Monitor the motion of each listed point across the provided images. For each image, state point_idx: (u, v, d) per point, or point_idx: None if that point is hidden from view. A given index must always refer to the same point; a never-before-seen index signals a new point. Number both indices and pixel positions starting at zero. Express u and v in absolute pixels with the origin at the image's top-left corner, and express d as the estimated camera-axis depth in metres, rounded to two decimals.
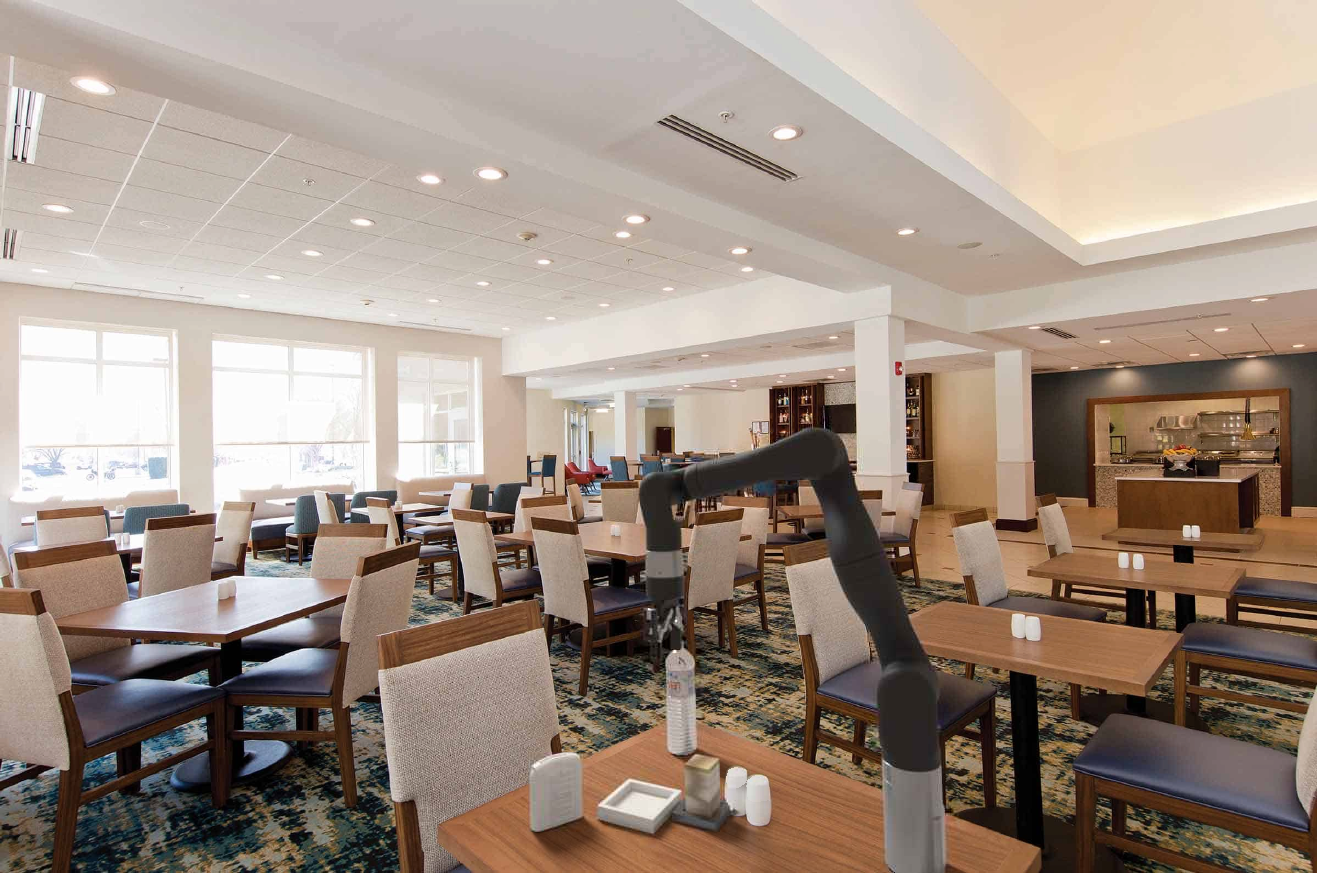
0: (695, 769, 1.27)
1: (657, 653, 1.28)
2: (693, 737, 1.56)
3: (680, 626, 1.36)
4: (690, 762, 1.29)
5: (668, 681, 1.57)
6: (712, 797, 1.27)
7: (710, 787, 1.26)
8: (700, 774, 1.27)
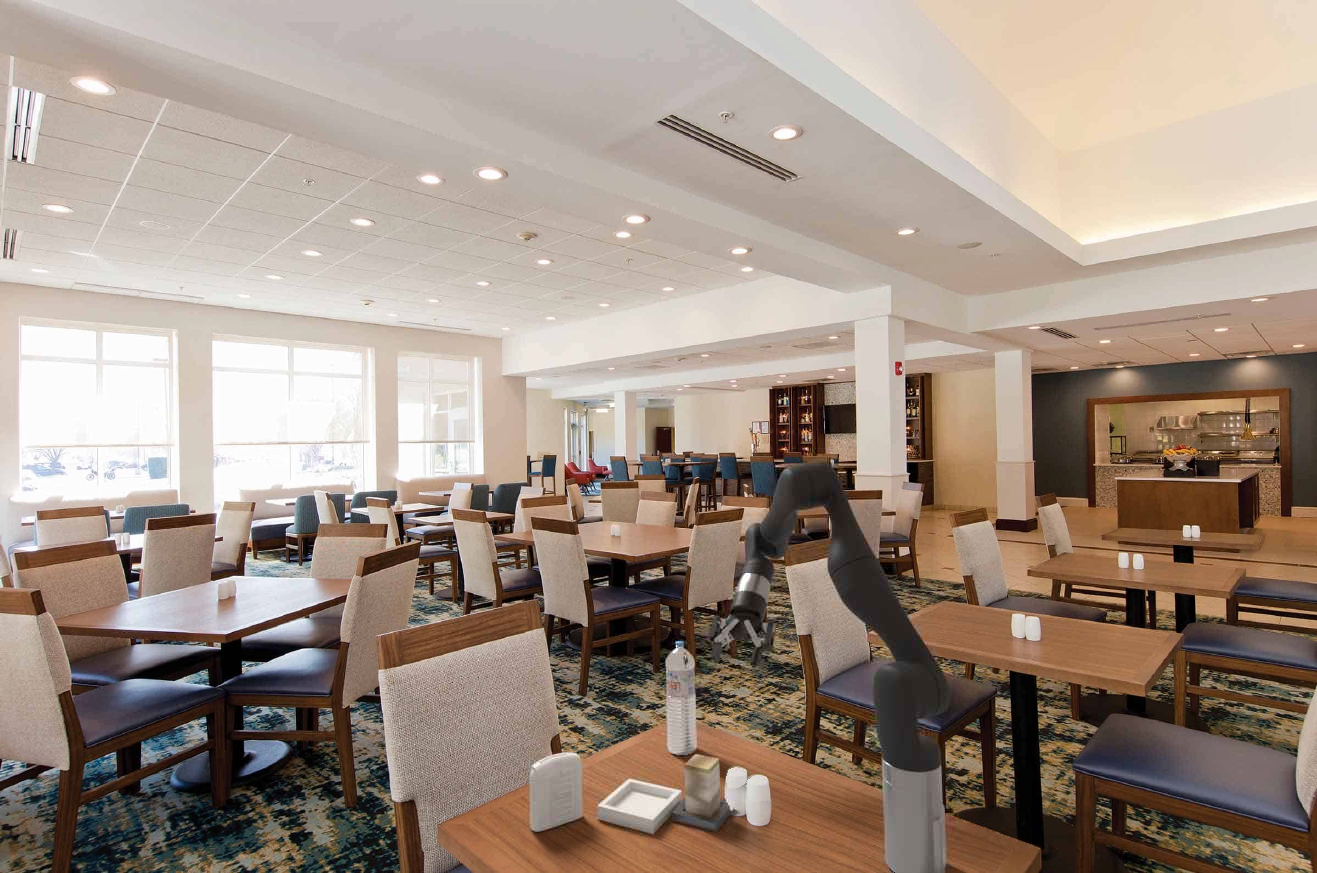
0: (695, 769, 1.27)
1: (713, 651, 1.46)
2: (693, 737, 1.56)
3: (755, 642, 1.44)
4: (690, 762, 1.29)
5: (668, 681, 1.57)
6: (712, 797, 1.27)
7: (710, 787, 1.26)
8: (700, 774, 1.27)
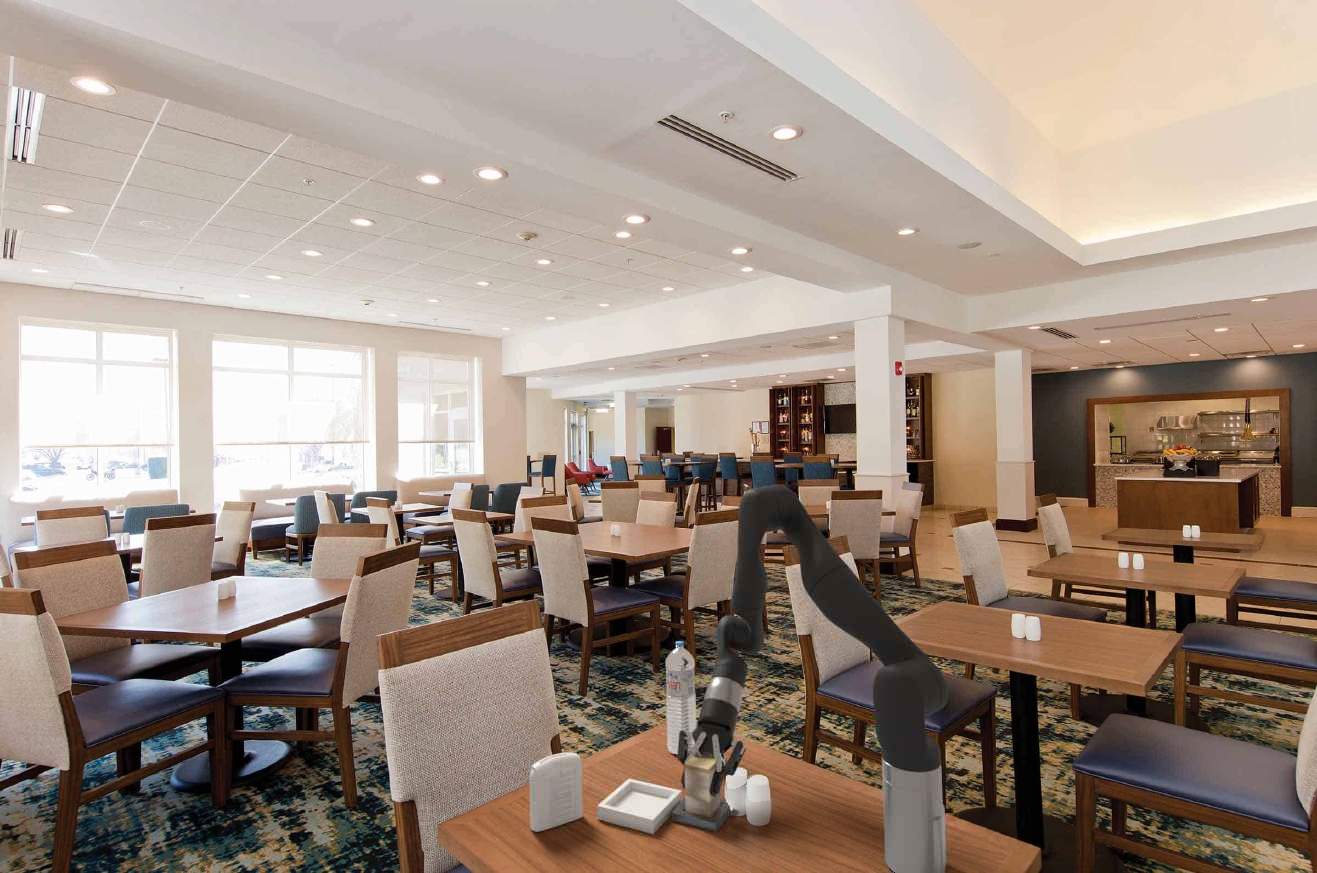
0: (695, 769, 1.27)
1: (683, 776, 1.30)
2: None
3: (716, 764, 1.29)
4: (690, 762, 1.29)
5: (668, 681, 1.57)
6: (711, 797, 1.27)
7: None
8: (700, 774, 1.27)
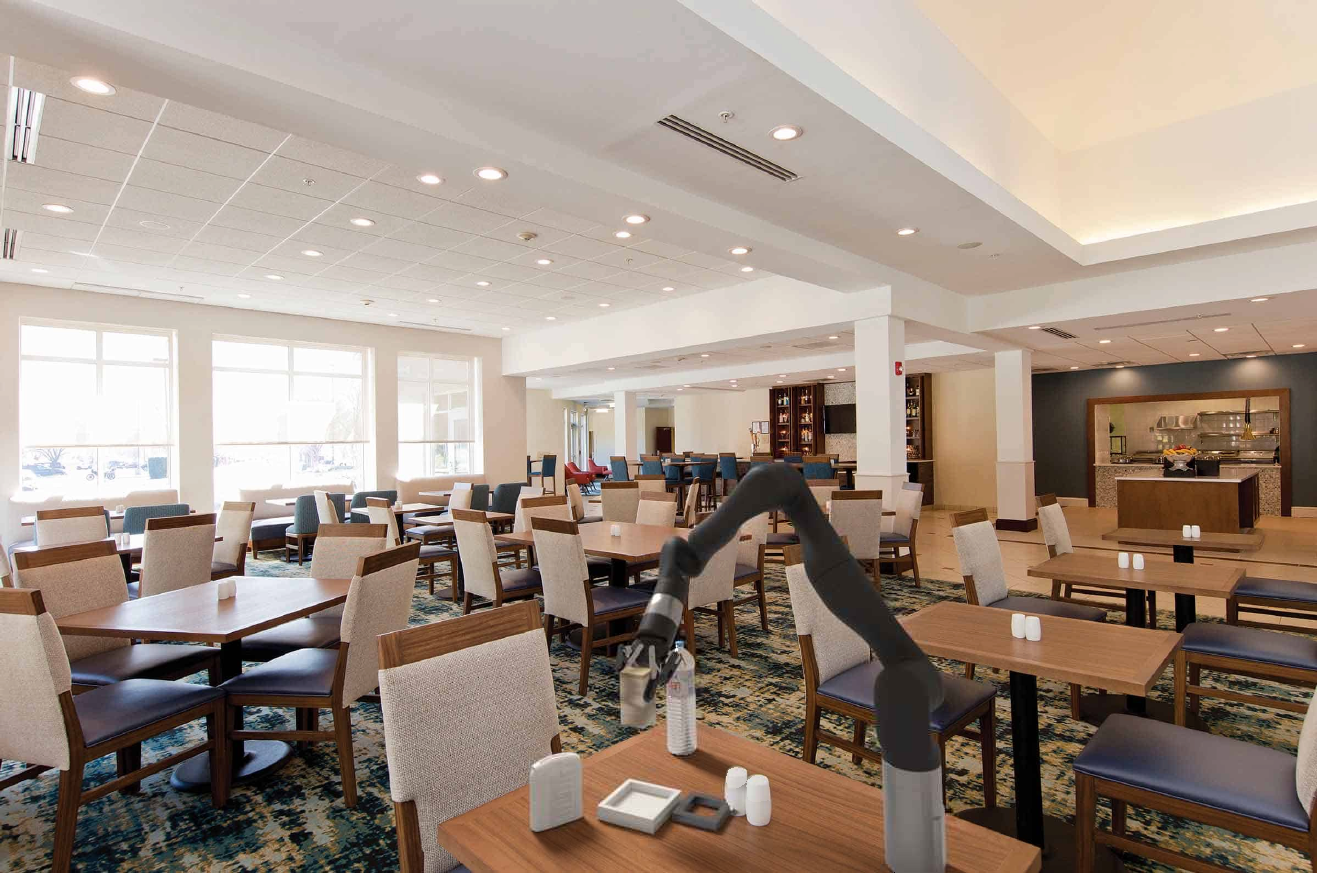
0: (630, 676, 1.30)
1: (619, 685, 1.32)
2: (693, 737, 1.56)
3: (651, 672, 1.31)
4: (626, 670, 1.32)
5: None
6: (646, 703, 1.29)
7: None
8: (634, 680, 1.29)
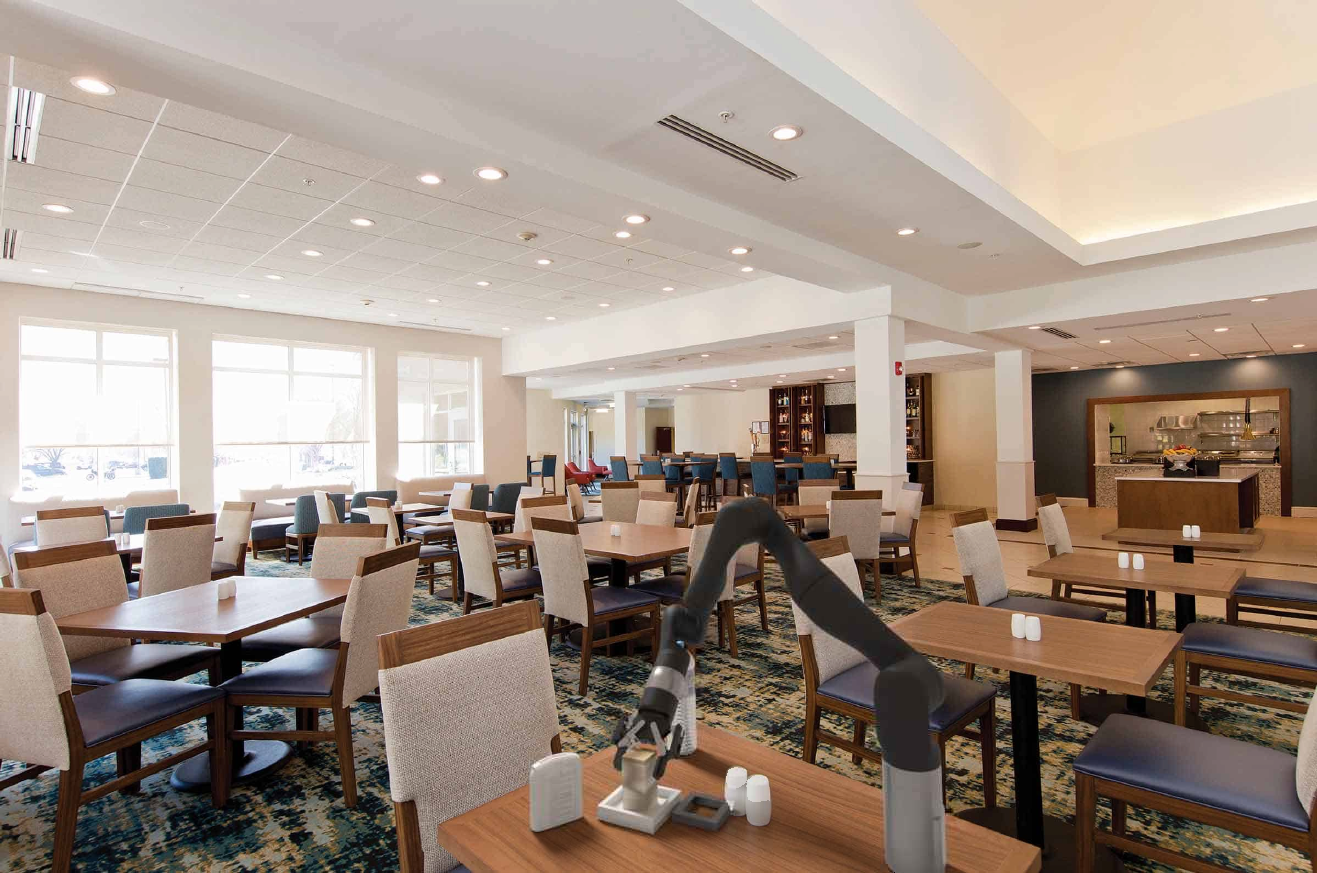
0: (632, 761, 1.29)
1: (615, 758, 1.33)
2: (693, 737, 1.56)
3: (660, 749, 1.30)
4: (627, 754, 1.31)
5: None
6: (648, 788, 1.29)
7: (646, 779, 1.28)
8: (636, 765, 1.29)
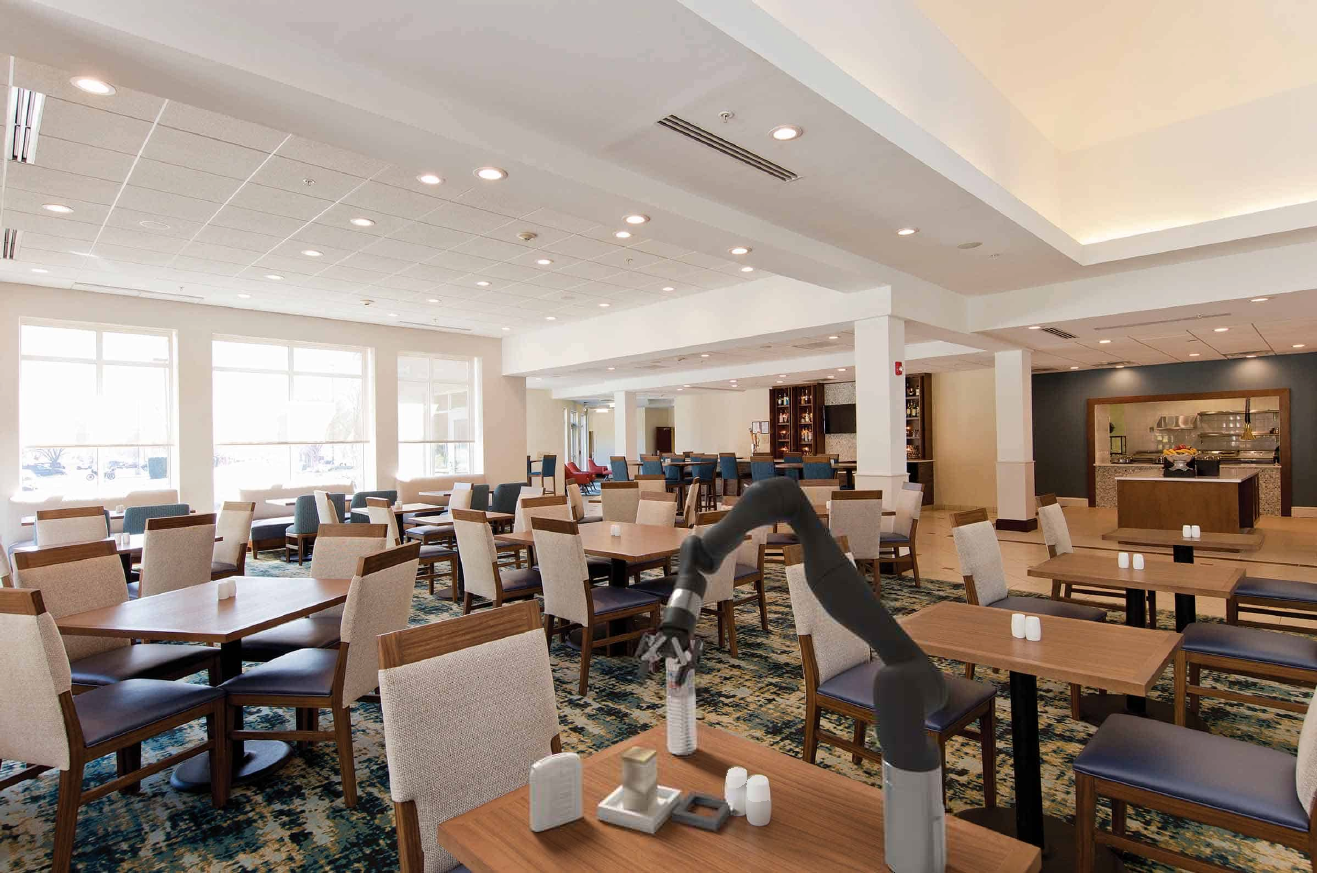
0: (632, 761, 1.29)
1: (639, 670, 1.43)
2: (693, 737, 1.56)
3: (681, 660, 1.40)
4: (627, 754, 1.31)
5: (668, 681, 1.57)
6: (648, 788, 1.29)
7: (646, 779, 1.28)
8: (636, 765, 1.29)
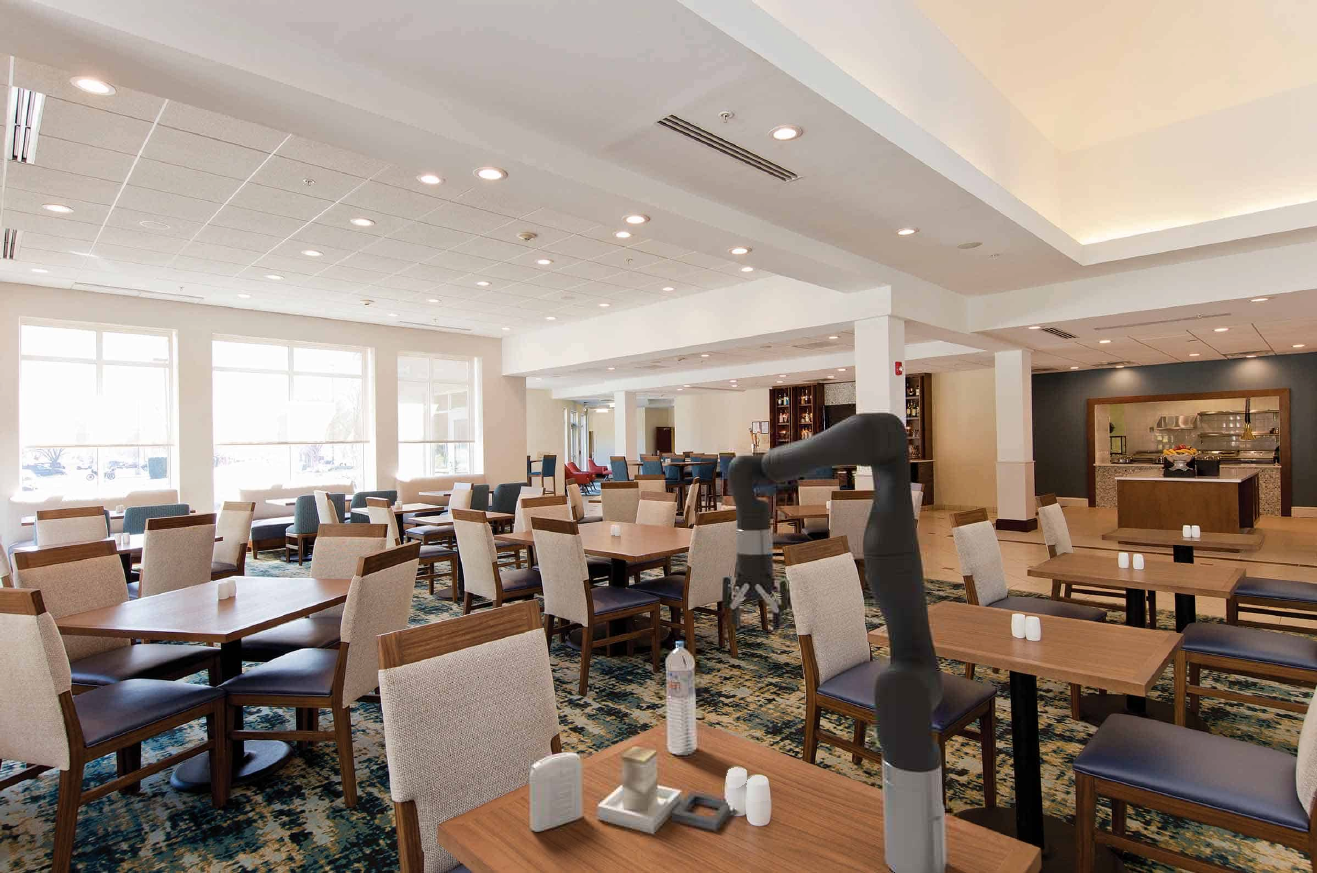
0: (632, 761, 1.29)
1: (732, 618, 1.43)
2: (693, 737, 1.56)
3: (772, 607, 1.39)
4: (627, 754, 1.31)
5: (668, 681, 1.57)
6: (648, 788, 1.29)
7: (646, 779, 1.28)
8: (636, 765, 1.29)
